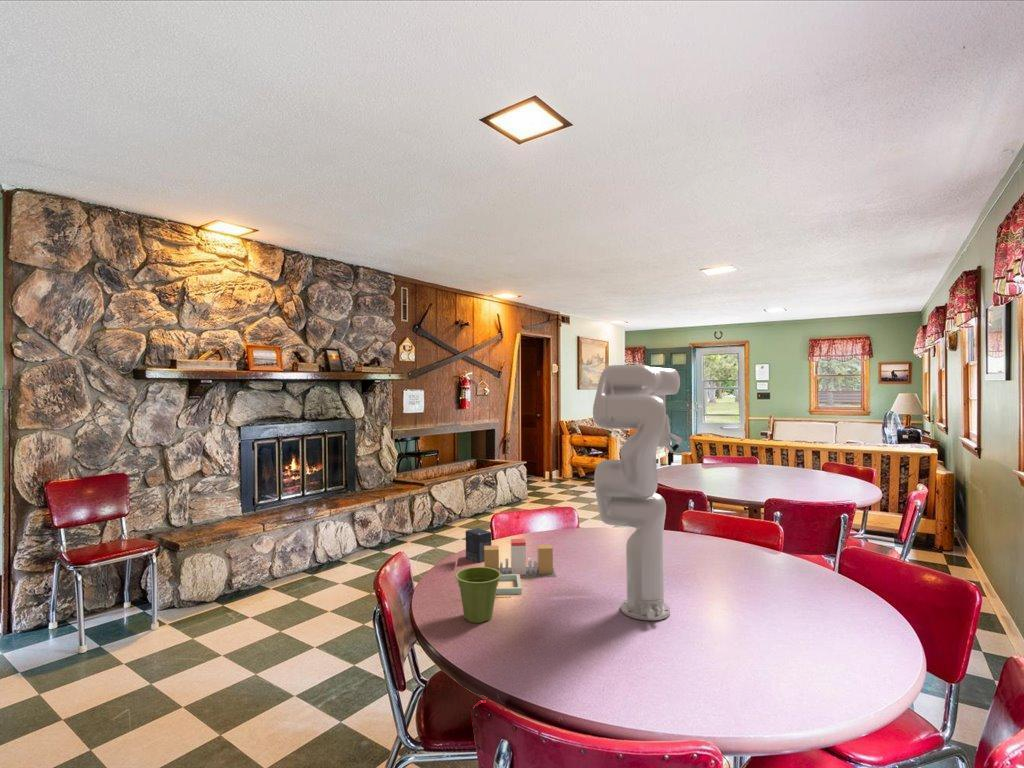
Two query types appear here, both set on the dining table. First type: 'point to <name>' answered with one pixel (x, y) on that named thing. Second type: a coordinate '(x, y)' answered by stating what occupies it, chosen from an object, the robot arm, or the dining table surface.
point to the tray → (510, 589)
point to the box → (477, 544)
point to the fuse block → (540, 567)
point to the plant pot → (478, 592)
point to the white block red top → (518, 556)
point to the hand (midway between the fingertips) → (654, 464)
